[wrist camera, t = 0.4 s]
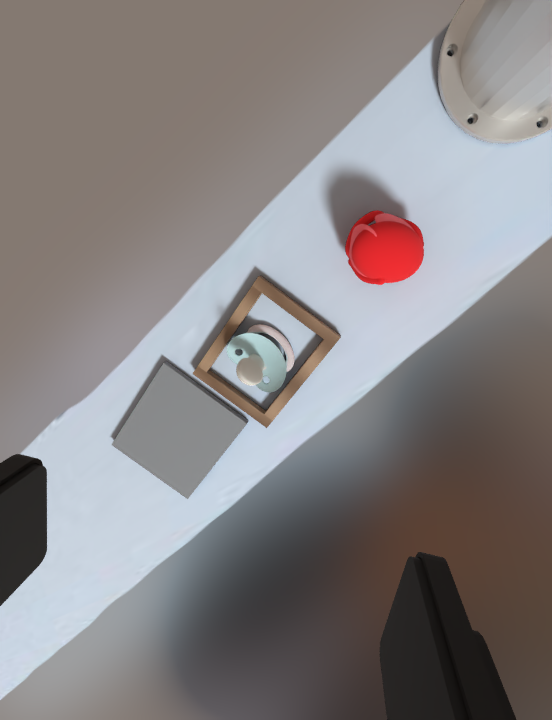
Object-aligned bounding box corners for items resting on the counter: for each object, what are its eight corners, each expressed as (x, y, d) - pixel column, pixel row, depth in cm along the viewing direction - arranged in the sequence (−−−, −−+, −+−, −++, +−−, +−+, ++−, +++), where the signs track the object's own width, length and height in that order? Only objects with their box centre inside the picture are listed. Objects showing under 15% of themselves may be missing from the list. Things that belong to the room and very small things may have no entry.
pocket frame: (260, 275, 40) (258, 276, 39) (340, 335, 41) (340, 337, 40) (195, 370, 45) (192, 373, 44) (268, 424, 45) (266, 427, 44)
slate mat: (166, 360, 45) (163, 362, 44) (248, 420, 45) (246, 423, 45) (114, 441, 49) (111, 444, 49) (189, 495, 50) (187, 499, 49)
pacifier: (261, 311, 42) (224, 346, 43) (250, 320, 36) (207, 361, 37) (307, 359, 42) (269, 392, 44) (303, 376, 36) (259, 414, 38)
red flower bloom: (322, 260, 36) (364, 301, 33) (354, 200, 32) (405, 241, 29) (370, 259, 41) (410, 295, 38) (404, 208, 37) (450, 243, 35)
